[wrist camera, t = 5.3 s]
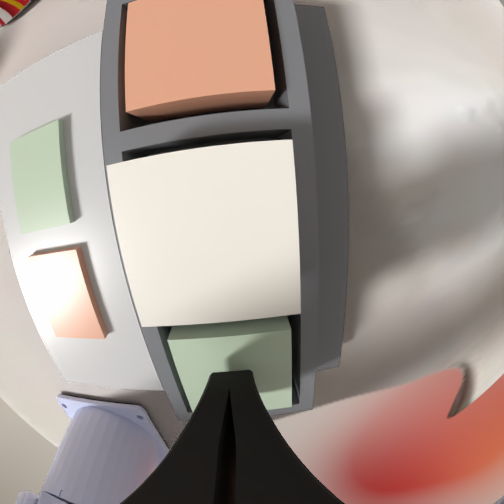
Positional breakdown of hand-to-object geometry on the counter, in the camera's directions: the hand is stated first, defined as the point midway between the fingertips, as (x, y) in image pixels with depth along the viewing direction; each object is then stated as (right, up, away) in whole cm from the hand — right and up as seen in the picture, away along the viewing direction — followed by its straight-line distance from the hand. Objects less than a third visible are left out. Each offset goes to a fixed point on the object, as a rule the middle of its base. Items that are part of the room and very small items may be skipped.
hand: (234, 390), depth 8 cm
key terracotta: (-1, +11, -1) cm, 11 cm away
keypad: (-4, +7, +3) cm, 8 cm away
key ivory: (-1, +6, 0) cm, 6 cm away
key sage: (0, +1, +3) cm, 3 cm away
